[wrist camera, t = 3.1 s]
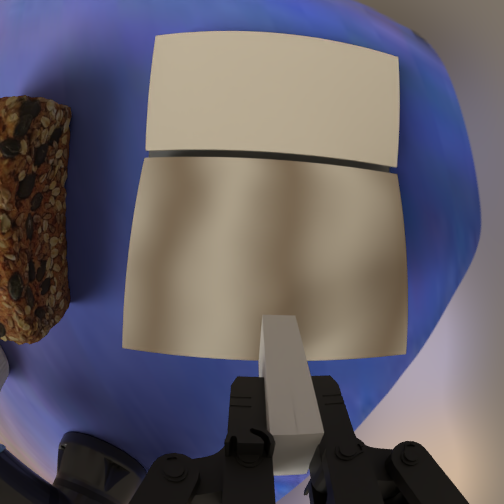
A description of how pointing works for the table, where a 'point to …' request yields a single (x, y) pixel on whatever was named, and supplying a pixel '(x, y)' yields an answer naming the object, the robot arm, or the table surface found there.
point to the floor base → (273, 99)
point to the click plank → (265, 258)
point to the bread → (33, 216)
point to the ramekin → (3, 368)
